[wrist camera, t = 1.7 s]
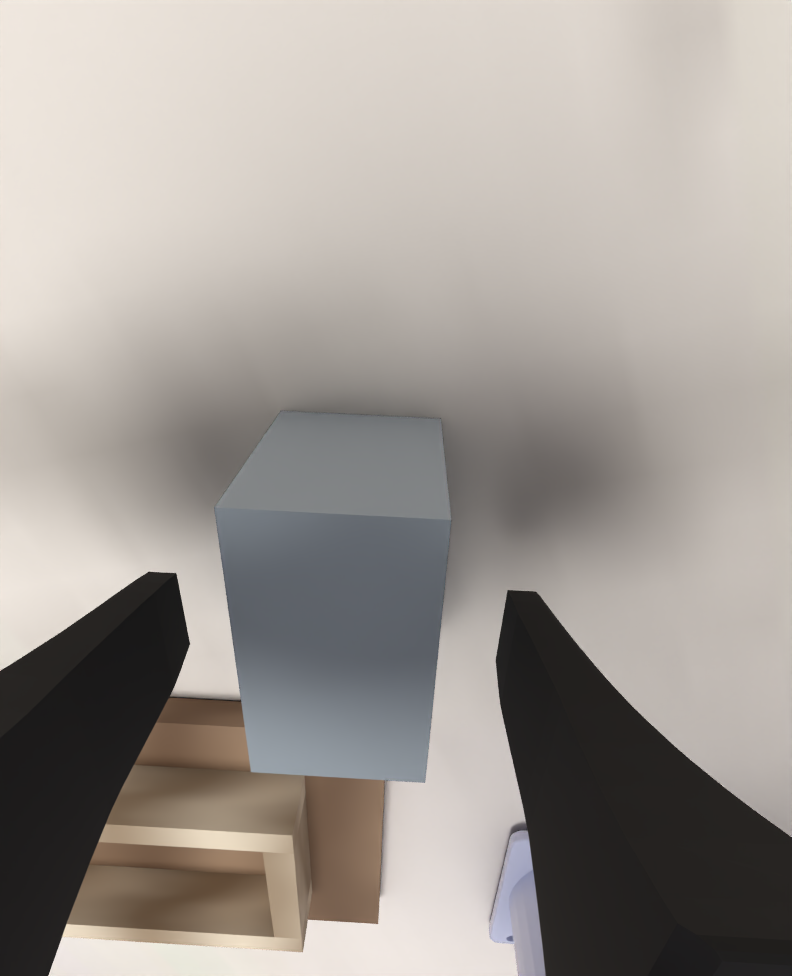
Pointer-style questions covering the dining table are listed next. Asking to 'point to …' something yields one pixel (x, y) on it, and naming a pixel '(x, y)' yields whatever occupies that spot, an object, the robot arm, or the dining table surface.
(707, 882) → the robot arm
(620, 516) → the dining table surface
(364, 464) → the key block
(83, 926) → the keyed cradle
